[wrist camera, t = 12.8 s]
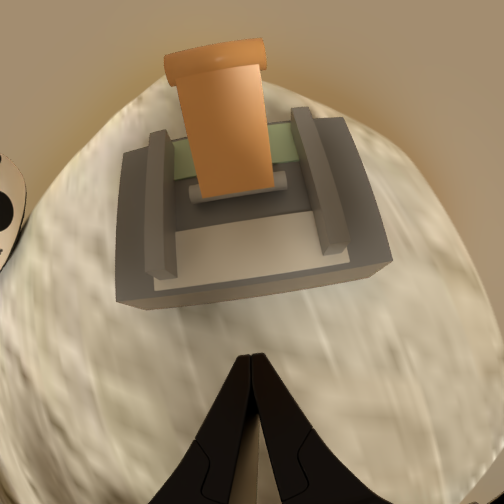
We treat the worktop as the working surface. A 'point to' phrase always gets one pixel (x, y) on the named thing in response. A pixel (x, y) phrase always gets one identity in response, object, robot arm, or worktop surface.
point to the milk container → (10, 207)
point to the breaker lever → (225, 118)
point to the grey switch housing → (247, 222)
